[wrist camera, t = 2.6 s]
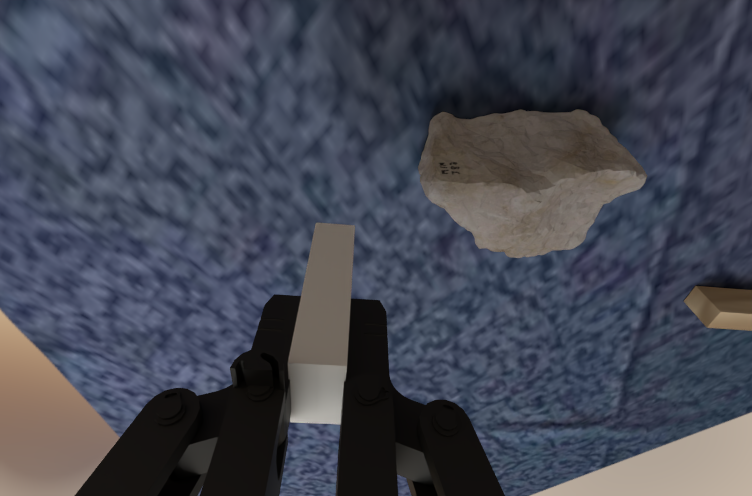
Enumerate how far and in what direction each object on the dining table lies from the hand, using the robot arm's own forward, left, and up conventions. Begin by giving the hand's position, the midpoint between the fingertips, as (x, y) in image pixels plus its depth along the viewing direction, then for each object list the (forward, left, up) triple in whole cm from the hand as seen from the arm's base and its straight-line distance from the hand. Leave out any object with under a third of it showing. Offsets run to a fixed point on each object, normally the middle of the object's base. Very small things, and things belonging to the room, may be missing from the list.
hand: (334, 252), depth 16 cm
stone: (-1, +9, -8) cm, 12 cm away
